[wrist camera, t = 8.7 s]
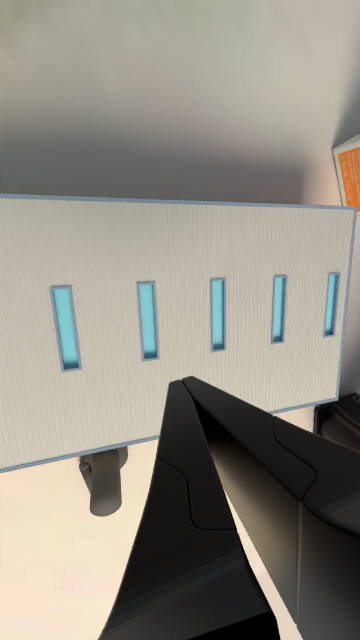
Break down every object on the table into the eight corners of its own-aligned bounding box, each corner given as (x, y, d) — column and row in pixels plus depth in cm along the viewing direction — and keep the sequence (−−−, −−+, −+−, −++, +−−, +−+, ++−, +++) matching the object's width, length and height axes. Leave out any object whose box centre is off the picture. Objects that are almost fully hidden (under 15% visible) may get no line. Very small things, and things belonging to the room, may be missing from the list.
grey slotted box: (298, 213, 22) (386, 202, 15) (277, 357, 26) (337, 400, 19) (-134, 202, 14) (-365, 169, 7) (-56, 407, 19) (-152, 506, 12)
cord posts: (298, 423, 30) (332, 456, 25) (96, 500, 25) (93, 558, 21) (299, 372, 27) (337, 399, 23) (73, 447, 22) (64, 500, 18)
